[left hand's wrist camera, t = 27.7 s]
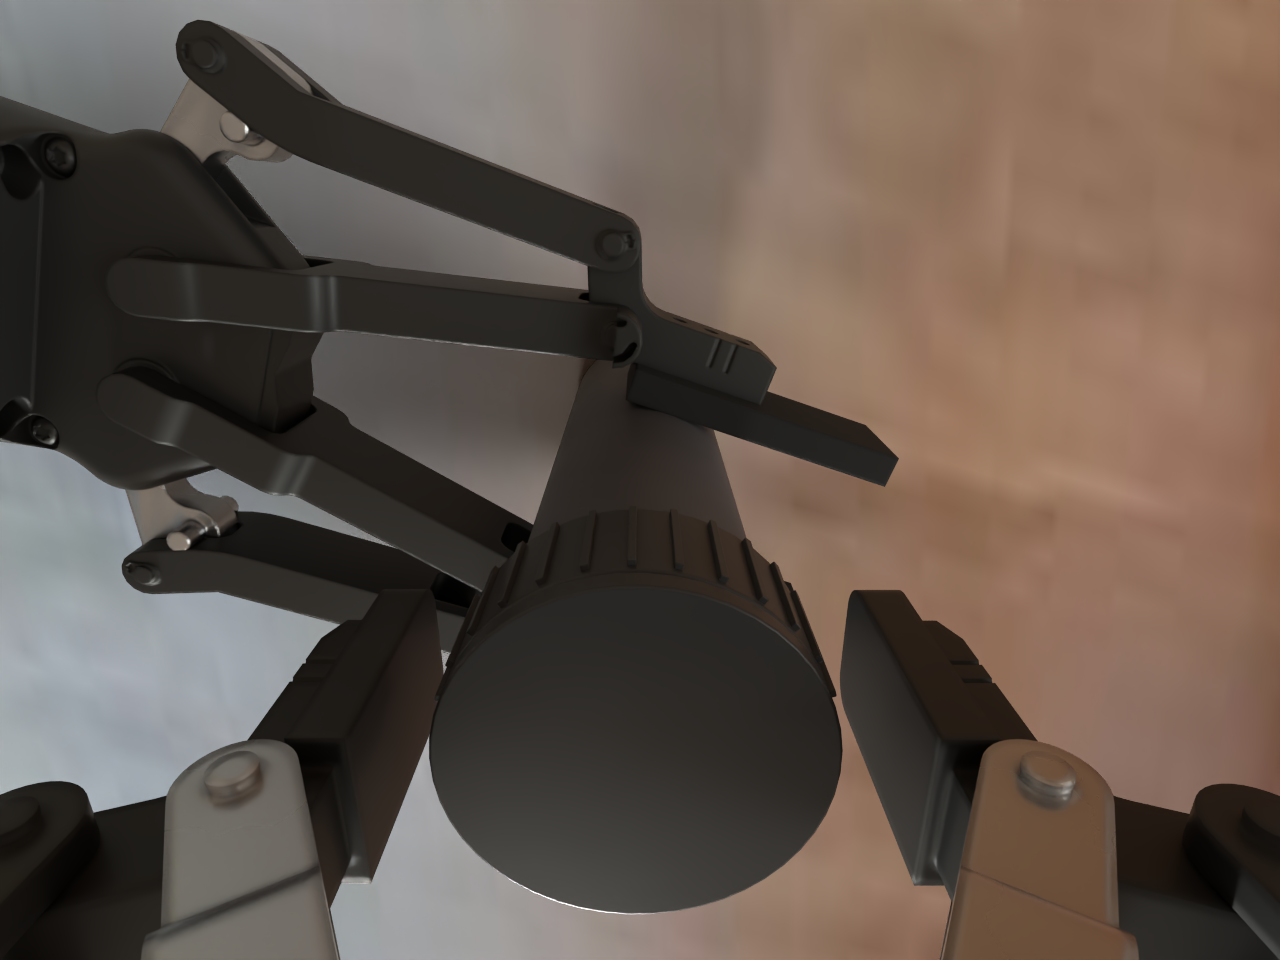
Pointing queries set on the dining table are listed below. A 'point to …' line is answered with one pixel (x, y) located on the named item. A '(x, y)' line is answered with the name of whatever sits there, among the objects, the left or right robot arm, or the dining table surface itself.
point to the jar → (633, 460)
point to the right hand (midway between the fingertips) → (831, 539)
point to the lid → (635, 716)
